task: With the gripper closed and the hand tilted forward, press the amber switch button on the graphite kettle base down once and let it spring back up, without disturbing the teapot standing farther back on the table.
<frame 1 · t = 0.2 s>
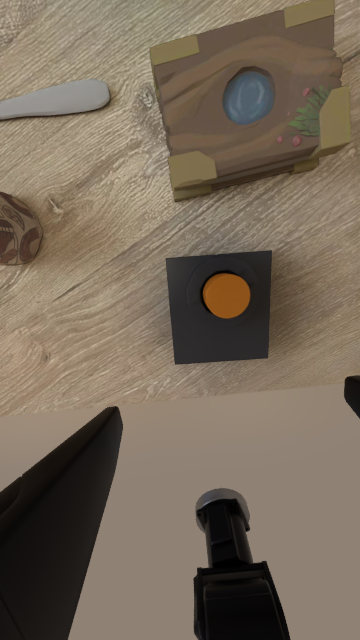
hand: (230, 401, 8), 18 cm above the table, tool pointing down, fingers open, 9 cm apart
book: (234, 126, 21), on the table
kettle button: (225, 295, 18), point 7 cm above the table, slide at 0.1 cm
figurine: (11, 232, 23), on the table
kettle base: (213, 304, 25), on the table
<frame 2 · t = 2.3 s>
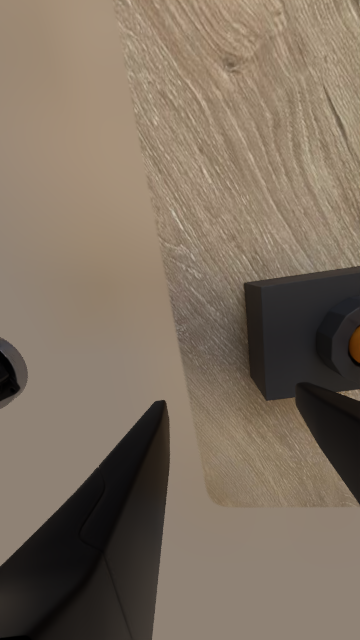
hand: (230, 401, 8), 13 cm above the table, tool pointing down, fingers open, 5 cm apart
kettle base: (302, 324, 21), on the table
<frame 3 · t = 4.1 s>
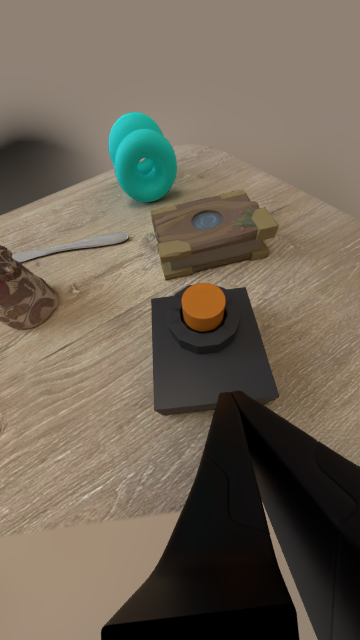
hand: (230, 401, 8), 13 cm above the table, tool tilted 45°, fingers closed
book: (205, 243, 32), on the table
butter knife: (45, 254, 34), on the table
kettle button: (203, 307, 18), point 7 cm above the table, slide at 0.1 cm
figurine: (33, 307, 29), on the table
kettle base: (205, 355, 23), on the table
donuts: (148, 191, 40), on the table
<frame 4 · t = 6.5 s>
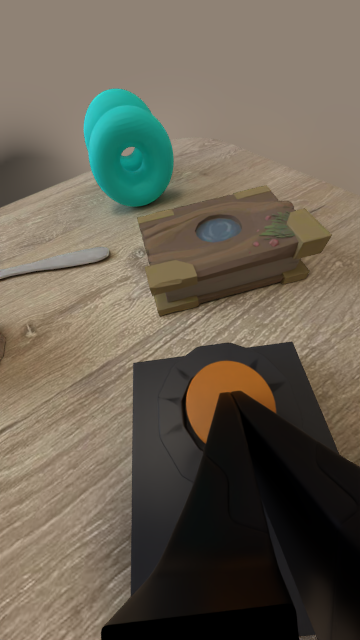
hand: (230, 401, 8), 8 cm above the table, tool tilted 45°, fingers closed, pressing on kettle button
book: (214, 260, 23), on the table
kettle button: (227, 406, 10), point 6 cm above the table, slide at -0.4 cm, touching gripper
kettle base: (224, 453, 14), on the table
donuts: (138, 193, 32), on the table
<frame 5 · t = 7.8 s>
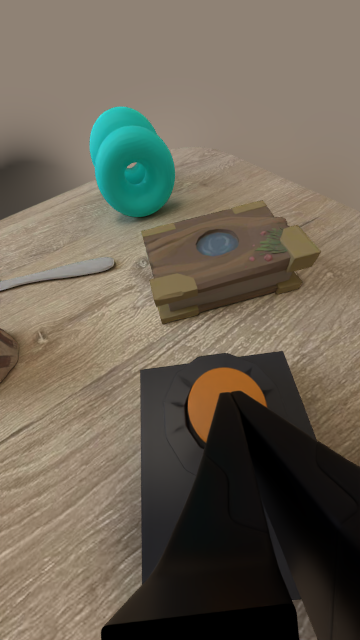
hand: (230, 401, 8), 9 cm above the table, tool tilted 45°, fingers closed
book: (213, 270, 25), on the table
butter knife: (9, 287, 26), on the table
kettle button: (224, 408, 11), point 7 cm above the table, slide at 0.1 cm
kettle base: (222, 450, 15), on the table
donuts: (141, 203, 33), on the table
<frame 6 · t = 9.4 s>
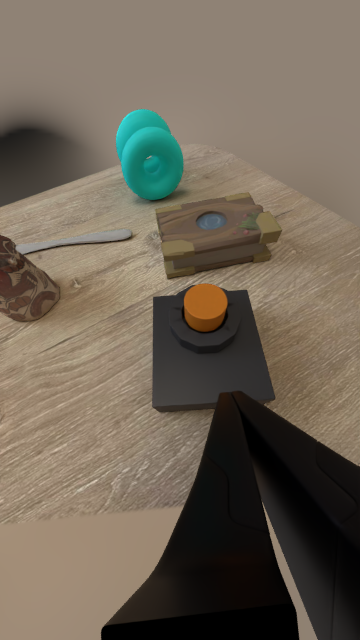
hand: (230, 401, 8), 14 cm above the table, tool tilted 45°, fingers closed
book: (208, 244, 32), on the table
butter knife: (48, 247, 33), on the table
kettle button: (204, 307, 18), point 7 cm above the table, slide at 0.1 cm
figurine: (34, 300, 29), on the table
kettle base: (203, 355, 23), on the table
donuts: (154, 188, 40), on the table
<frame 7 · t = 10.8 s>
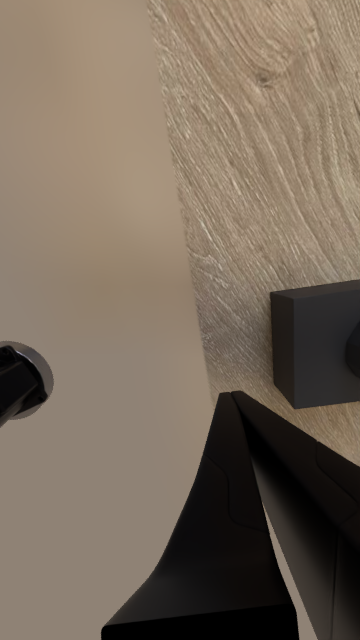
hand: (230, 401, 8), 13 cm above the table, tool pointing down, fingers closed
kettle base: (326, 333, 21), on the table
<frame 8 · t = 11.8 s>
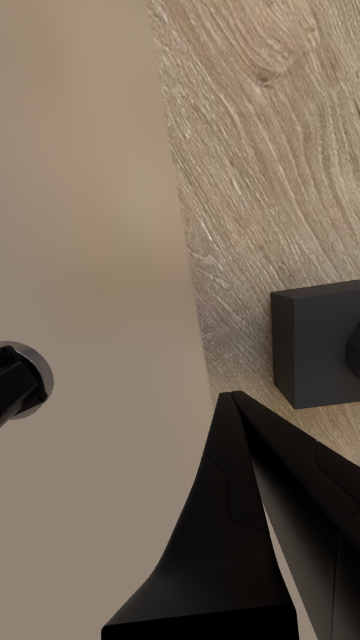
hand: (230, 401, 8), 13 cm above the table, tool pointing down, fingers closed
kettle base: (326, 333, 21), on the table
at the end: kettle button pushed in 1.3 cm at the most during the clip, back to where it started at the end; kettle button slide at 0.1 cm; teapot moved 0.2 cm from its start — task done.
